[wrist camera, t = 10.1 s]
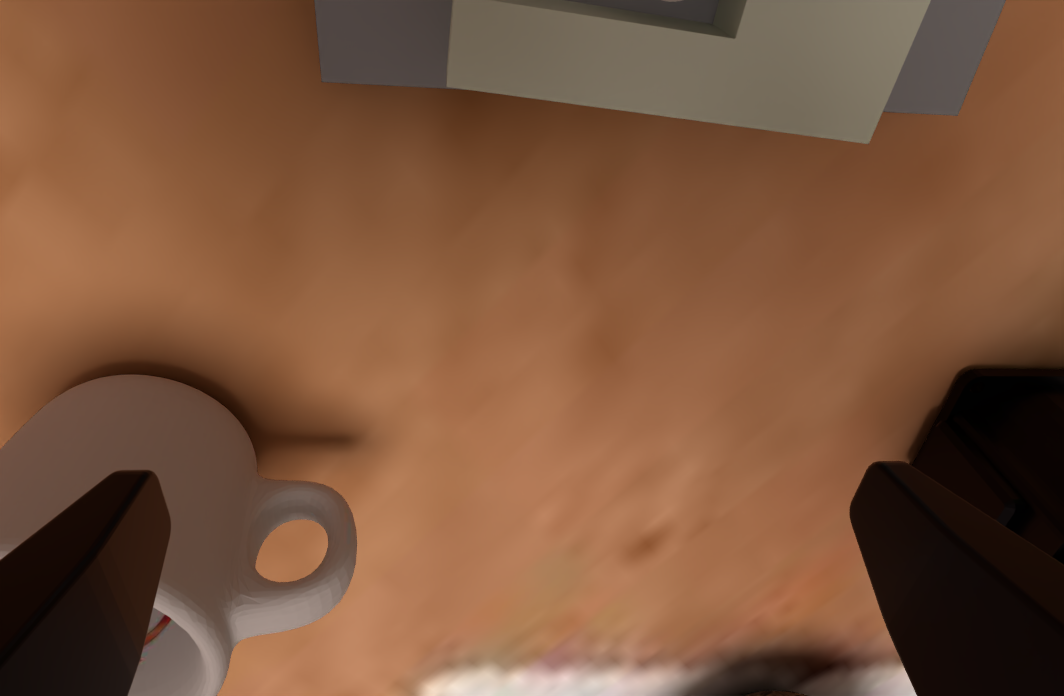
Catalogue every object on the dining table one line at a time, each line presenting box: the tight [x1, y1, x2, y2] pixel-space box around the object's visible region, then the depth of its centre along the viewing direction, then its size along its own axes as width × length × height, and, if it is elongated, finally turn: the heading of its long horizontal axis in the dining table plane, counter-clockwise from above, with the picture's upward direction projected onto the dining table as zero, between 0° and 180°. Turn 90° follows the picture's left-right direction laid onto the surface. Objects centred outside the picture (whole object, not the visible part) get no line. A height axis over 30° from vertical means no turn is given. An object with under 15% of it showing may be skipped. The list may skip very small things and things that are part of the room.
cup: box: [0, 374, 357, 696], centre depth 20 cm, size 11×8×8 cm
